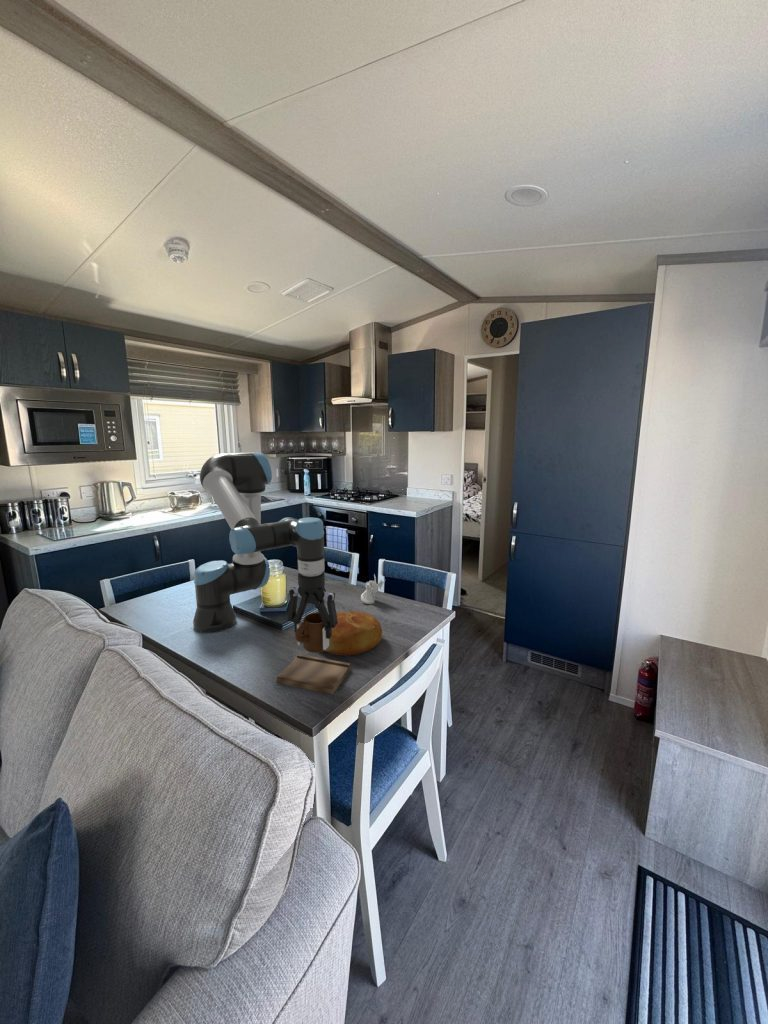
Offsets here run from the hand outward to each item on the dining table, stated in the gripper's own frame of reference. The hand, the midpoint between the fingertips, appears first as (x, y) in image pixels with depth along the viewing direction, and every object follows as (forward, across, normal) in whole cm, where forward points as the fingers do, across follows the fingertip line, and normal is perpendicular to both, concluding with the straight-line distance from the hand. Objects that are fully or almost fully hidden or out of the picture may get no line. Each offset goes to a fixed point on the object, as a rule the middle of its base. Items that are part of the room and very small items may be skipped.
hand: (313, 645), depth 127 cm
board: (+10, 0, 0) cm, 10 cm away
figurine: (+10, -1, +57) cm, 58 cm away
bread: (+10, +2, +22) cm, 24 cm away
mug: (+2, -1, 0) cm, 2 cm away
